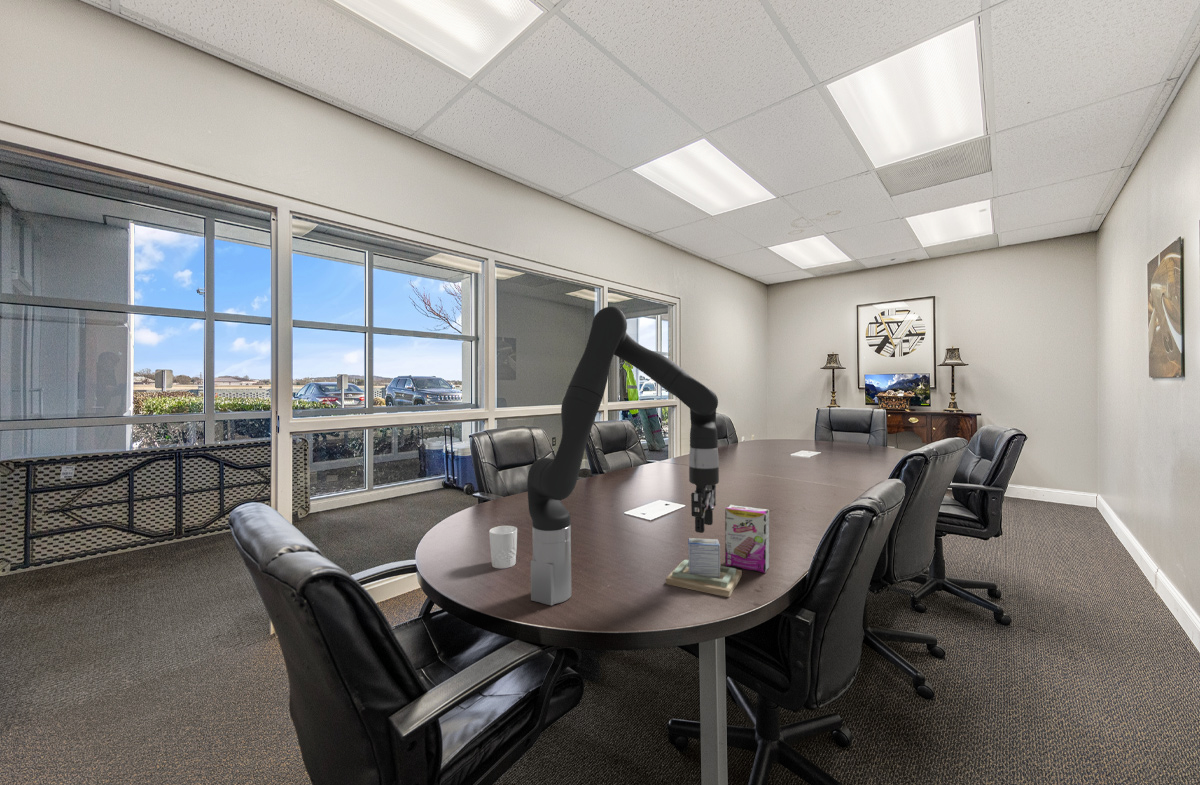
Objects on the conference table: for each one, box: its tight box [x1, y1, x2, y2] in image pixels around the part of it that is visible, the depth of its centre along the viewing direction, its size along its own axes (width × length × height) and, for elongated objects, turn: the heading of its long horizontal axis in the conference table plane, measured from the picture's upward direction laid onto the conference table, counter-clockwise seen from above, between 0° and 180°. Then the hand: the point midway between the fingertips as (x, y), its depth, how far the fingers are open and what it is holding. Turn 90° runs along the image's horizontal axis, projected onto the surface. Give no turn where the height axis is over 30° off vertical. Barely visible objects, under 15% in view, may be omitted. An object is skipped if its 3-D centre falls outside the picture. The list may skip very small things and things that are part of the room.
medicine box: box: [687, 537, 721, 578], centre depth 119 cm, size 8×4×9 cm, turn 81°
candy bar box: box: [724, 504, 770, 574], centre depth 128 cm, size 11×5×16 cm, turn 59°
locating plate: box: [665, 559, 743, 598], centre depth 119 cm, size 14×16×2 cm
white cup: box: [488, 525, 518, 570], centre depth 132 cm, size 8×8×10 cm
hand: (704, 528), depth 119 cm, fingers open, 7 cm apart
